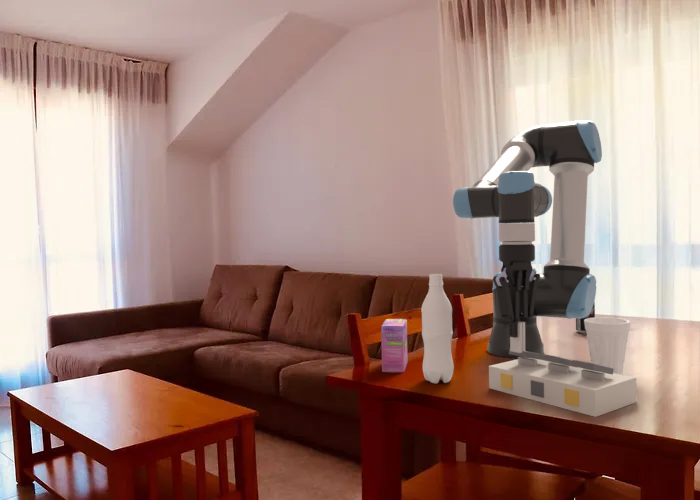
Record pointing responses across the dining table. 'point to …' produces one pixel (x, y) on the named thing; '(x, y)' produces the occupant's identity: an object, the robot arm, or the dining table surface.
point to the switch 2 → (555, 359)
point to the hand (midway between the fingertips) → (517, 351)
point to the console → (563, 385)
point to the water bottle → (437, 332)
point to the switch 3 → (592, 367)
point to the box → (394, 345)
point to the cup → (607, 341)
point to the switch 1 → (526, 354)
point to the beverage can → (580, 321)
